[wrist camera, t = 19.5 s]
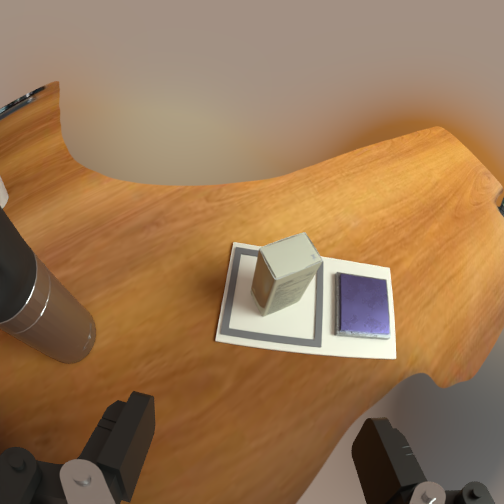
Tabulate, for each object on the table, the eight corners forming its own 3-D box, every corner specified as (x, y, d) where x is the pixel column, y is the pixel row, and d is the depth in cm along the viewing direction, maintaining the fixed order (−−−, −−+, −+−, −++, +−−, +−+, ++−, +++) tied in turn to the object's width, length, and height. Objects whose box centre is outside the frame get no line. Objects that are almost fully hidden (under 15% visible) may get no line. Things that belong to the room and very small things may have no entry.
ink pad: (334, 335, 40) (338, 332, 39) (334, 274, 46) (337, 270, 45) (387, 339, 41) (392, 337, 39) (383, 282, 46) (388, 278, 45)
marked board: (215, 341, 39) (215, 340, 38) (233, 243, 47) (233, 240, 47) (394, 359, 39) (397, 358, 39) (388, 269, 48) (390, 267, 47)
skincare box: (286, 277, 45) (307, 229, 34) (299, 302, 43) (326, 260, 32) (247, 292, 43) (257, 246, 32) (260, 318, 41) (275, 279, 30)
